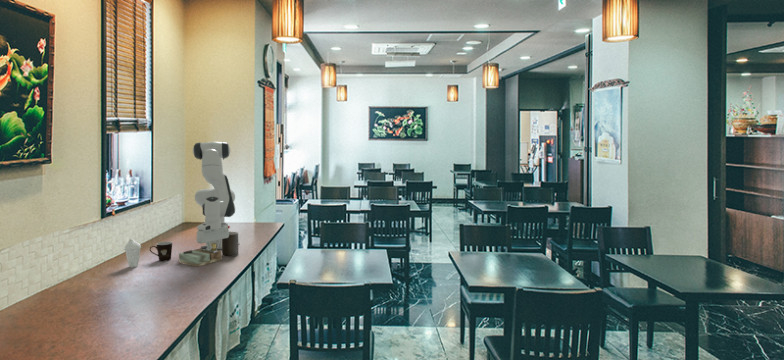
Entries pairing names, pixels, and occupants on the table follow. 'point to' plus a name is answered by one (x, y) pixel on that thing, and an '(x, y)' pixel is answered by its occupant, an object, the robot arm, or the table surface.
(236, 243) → the pillar candle
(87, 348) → the table surface
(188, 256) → the door board
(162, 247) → the coffee mug
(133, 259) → the soft serve ice cream cone
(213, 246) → the bar
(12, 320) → the table surface
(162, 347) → the table surface
